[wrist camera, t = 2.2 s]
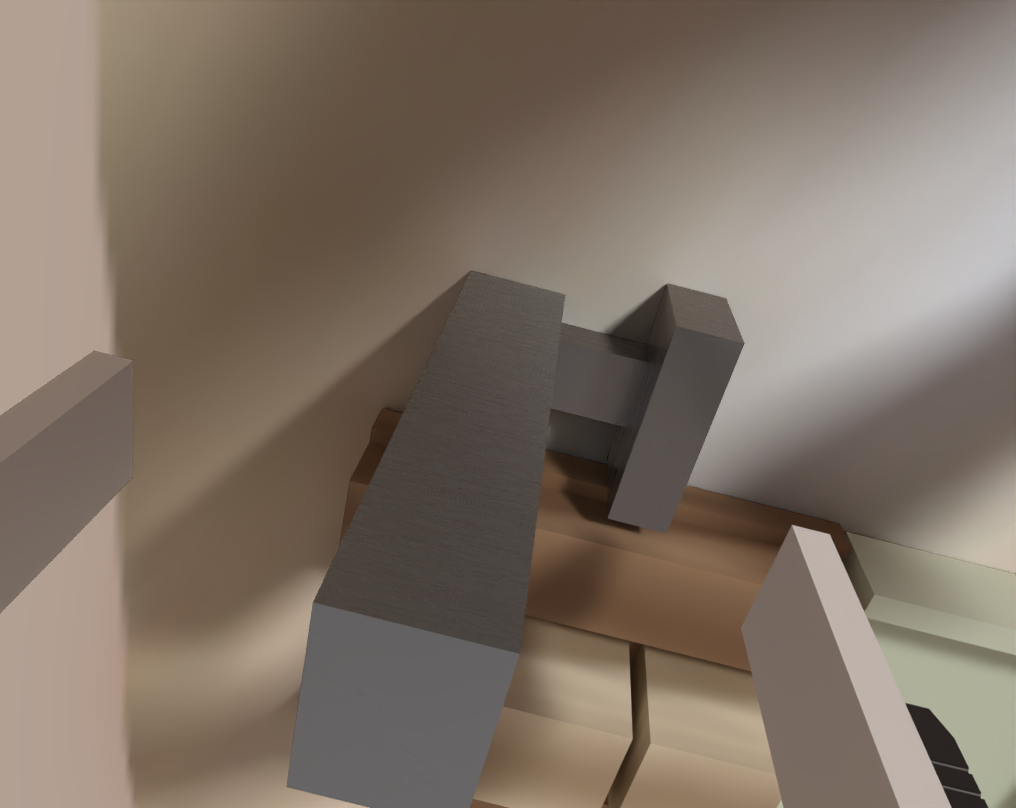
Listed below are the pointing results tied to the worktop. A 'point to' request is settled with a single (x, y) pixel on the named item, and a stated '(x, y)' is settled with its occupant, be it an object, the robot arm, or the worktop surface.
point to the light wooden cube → (694, 737)
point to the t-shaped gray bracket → (484, 530)
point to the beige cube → (560, 721)
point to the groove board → (637, 560)
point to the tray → (947, 648)
